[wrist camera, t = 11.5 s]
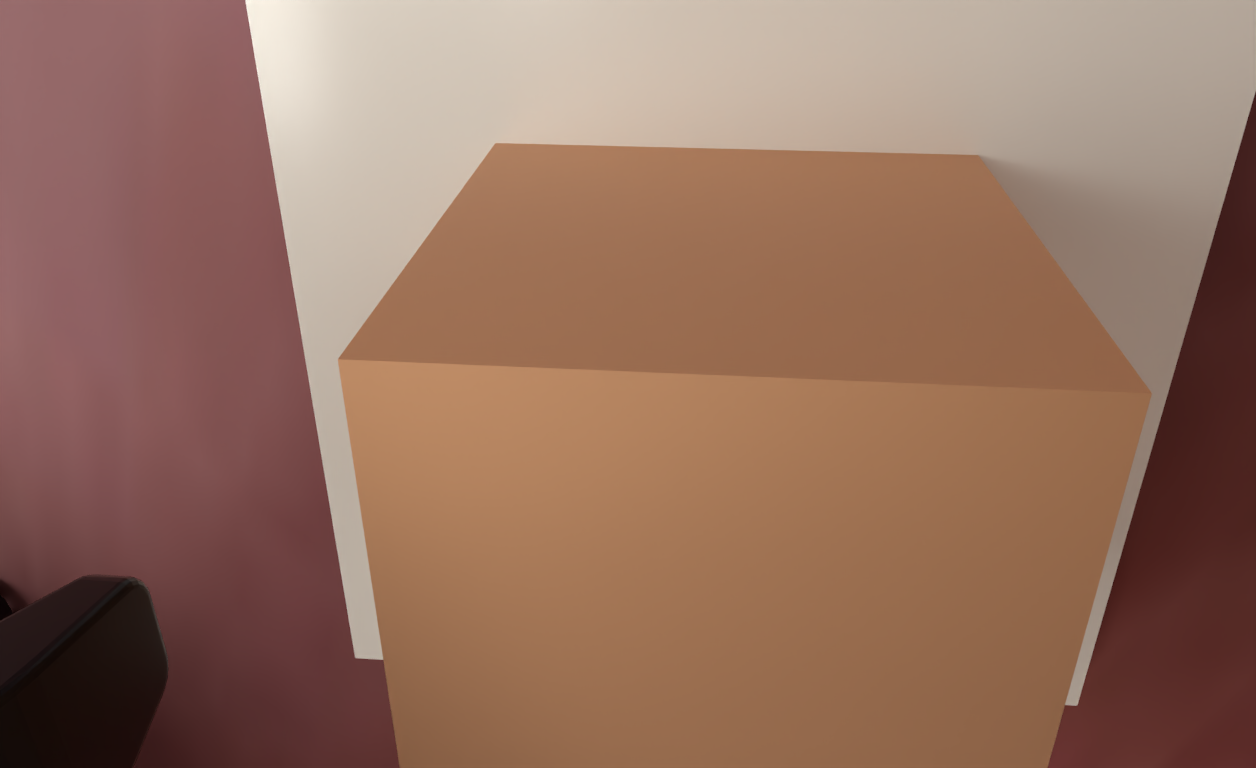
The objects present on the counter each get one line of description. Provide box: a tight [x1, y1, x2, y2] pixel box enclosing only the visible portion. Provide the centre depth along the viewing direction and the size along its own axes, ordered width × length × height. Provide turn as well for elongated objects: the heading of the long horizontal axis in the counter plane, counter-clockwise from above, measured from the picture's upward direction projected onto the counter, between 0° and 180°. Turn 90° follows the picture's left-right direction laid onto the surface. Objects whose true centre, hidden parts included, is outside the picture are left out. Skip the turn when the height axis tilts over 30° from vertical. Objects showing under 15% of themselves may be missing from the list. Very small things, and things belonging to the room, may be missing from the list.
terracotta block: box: [338, 143, 1152, 768], centre depth 10 cm, size 5×5×5 cm
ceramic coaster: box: [245, 0, 1256, 706], centre depth 12 cm, size 10×10×1 cm
